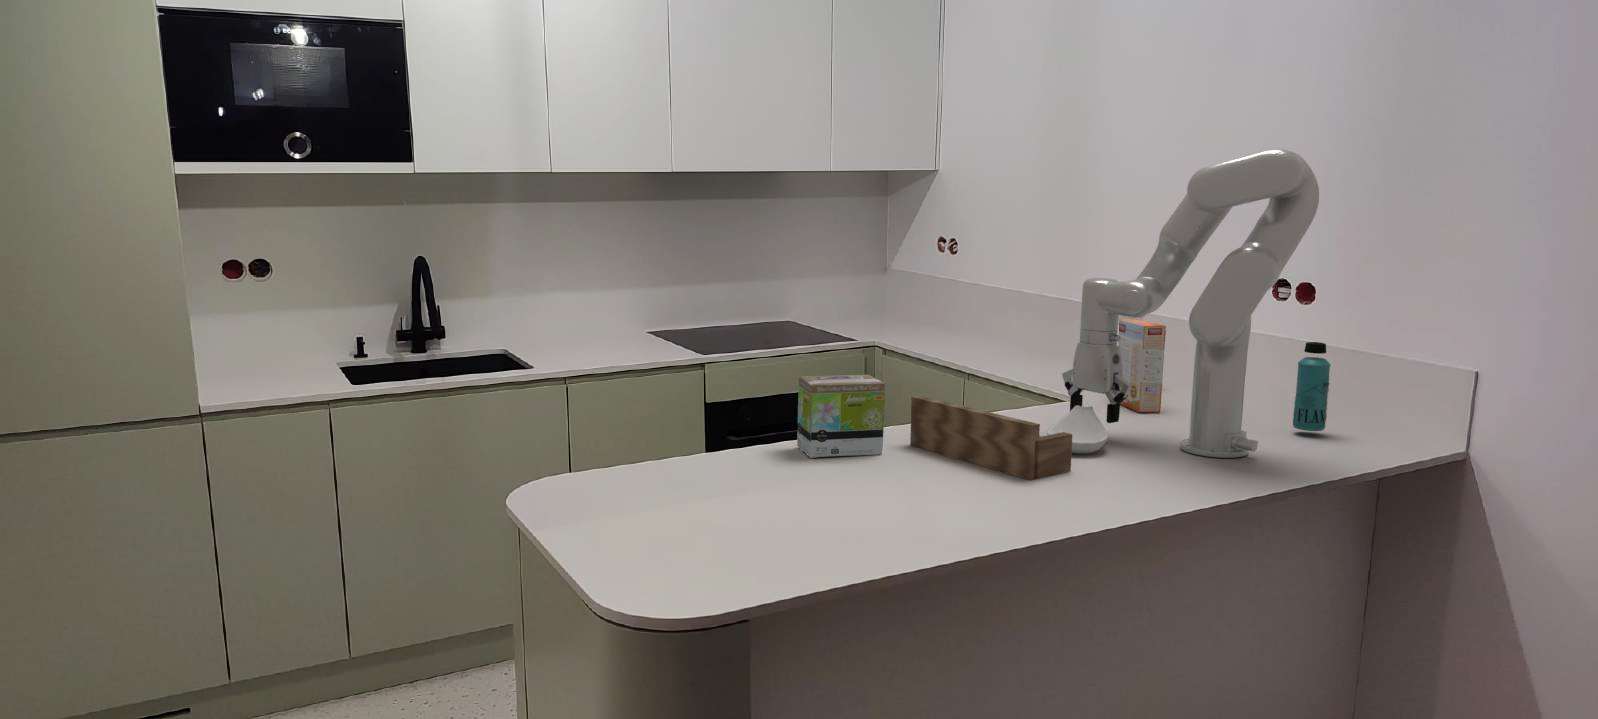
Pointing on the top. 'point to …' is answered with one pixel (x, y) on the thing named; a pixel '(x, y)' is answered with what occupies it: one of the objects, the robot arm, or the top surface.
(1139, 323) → the cracker box
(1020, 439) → the stand
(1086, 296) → the robot arm
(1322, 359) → the beverage bottle
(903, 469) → the top surface
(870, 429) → the tea box
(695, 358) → the top surface
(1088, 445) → the spoon rest
